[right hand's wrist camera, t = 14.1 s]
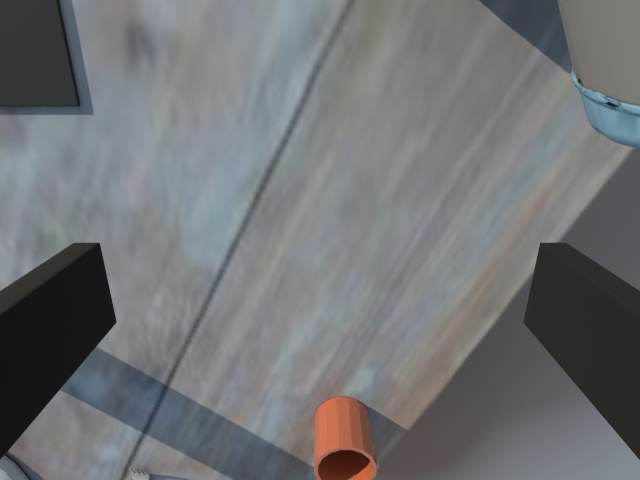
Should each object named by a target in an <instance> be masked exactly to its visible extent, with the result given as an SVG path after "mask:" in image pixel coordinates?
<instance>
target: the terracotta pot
mask: <svg viewBox="0 0 640 480" xmlns="http://www.w3.org/2000/svg"><path fill="white" fill-rule="evenodd" d="M376 473H377V462H376V456H375V449H374V442H373V435H372V429H371V422H370V417H369V413H368V410H367V409H366V407H365V406H364V405H363V404H362V403H361V402H359V401H358V400H356V399H353V398H349V397H336V398H332V399H329V400H327V401H326V402H324V403H323V404H322V405H320V407H319V408H318V409H317V411H316V414H315V436H314V475H315V477H316V479H317V480H373V479H374V478H375V476H376Z"/></svg>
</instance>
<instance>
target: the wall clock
mask: <svg viewBox="0 0 640 480" xmlns="http://www.w3.org/2000/svg"><path fill="white" fill-rule="evenodd" d="M0 480H29V479H28V478H27V477H26V475H25V474H24V473H23V472H22V471H21V469H20V468H19V467H18V466H17V465H16V464H15V463H14V462H13V461H11V460H10V459H9V458H8V457H6V456H5V455H4V456H3V457H2V458H1V459H0Z"/></svg>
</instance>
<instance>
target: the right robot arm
mask: <svg viewBox="0 0 640 480" xmlns="http://www.w3.org/2000/svg"><path fill="white" fill-rule="evenodd" d="M557 2H558V6H559V11H560V15H561V19H562V24H563V28H564V33H565V37H566V41H567V46H568V50H569V55H570V59H571V63H572V70H571V77H572V81H573V83H574V85H575V86H576V87H577V88H578V89H579V91H580V95H581V98H582V101H583V105H584V108H585V111H586V115H587V118H588V120H589V122H590V124H591V126H592V127H593V128H594V129H595V130H596V131H597V132H599V133H601V134H603V135H604V136H606V137H607V138H608V139H609V140H611V141H614V142H616V143H619V144H623V145H626V146H630V147H635V148H640V0H557ZM524 323H525V325H526V326H527V327H528V328H529V329H530V331H531V332H532V333H533V334H534V335H535V336H536V338H537V339H538V340H539V341H540V342H541V344H542V345H543V346H544V347H545V348H546V349H547V351H548V352H549V353H550V354H551V355H552V357H553V358H554V359H555V360H556V361H557V363H558V364H559V365H560V366H561V367H562V368H563V370H564V371H565V372H566V373H567V374H568V376H569V377H570V378H571V379H572V380H573V381H574V383H575V384H576V385H577V386H578V387H579V389H580V390H581V391H582V392H583V393H584V394H585V396H586V397H587V398H588V399H589V400H590V402H591V403H592V404H593V405H594V406H595V407H596V409H597V410H598V411H599V412H600V413H601V415H602V416H603V417H604V418H605V419H606V420H607V422H608V423H609V424H610V425H611V426H612V428H613V429H614V430H615V431H616V432H617V433H618V435H619V436H620V437H621V438H622V439H623V441H624V442H625V443H626V444H627V445H628V446H629V448H630V449H631V450H632V451H633V452H634V454H635V455H636V456H637V457H638V458H639V459H640V291H639V290H637V289H636V288H634V287H633V286H631V285H629V284H628V283H626V282H625V281H623V280H622V279H620V278H619V277H617V276H616V275H614V274H613V273H611V272H610V271H608V270H607V269H605V268H604V267H602V266H601V265H599V264H598V263H596V262H594V261H593V260H591V259H590V258H588V257H587V256H585V255H584V254H582V253H581V252H579V251H578V250H576V249H575V248H573V247H572V246H570V245H568V244H567V243H540V247H539V251H538V256H537V261H536V266H535V270H534V275H533V280H532V285H531V289H530V294H529V299H528V303H527V308H526V313H525V317H524ZM115 324H116V317H115V313H114V308H113V303H112V299H111V294H110V289H109V284H108V280H107V275H106V270H105V266H104V261H103V256H102V251H101V247H100V243H73V244H71V245H70V246H68V247H67V248H65V249H64V250H62V251H61V252H59V253H58V254H56V255H55V256H53V257H52V258H50V259H49V260H47V261H46V262H44V263H42V264H41V265H39V266H38V267H36V268H35V269H33V270H32V271H30V272H29V273H27V274H26V275H24V276H23V277H21V278H20V279H18V280H17V281H15V282H13V283H12V284H10V285H9V286H7V287H6V288H4V289H3V290H1V291H0V459H1V458H2V457H3V456H4V455H5V454H6V452H7V451H8V450H9V449H10V448H11V446H12V445H13V444H14V443H15V442H16V441H17V439H18V438H19V437H20V436H21V435H22V433H23V432H24V431H25V430H26V429H27V428H28V426H29V425H30V424H31V423H32V422H33V420H34V419H35V418H36V417H37V416H38V415H39V413H40V412H41V411H42V410H43V409H44V407H45V406H46V405H47V404H48V403H49V402H50V400H51V399H52V398H53V397H54V396H55V394H56V393H57V392H58V391H59V390H60V389H61V387H62V386H63V385H64V384H65V383H66V381H67V380H68V379H69V378H70V377H71V376H72V374H73V373H74V372H75V371H76V370H77V368H78V367H79V366H80V365H81V364H82V363H83V361H84V360H85V359H86V358H87V357H88V355H89V354H90V353H91V352H92V351H93V350H94V348H95V347H96V346H97V345H98V344H99V342H100V341H101V340H102V339H103V338H104V337H105V335H106V334H107V333H108V332H109V331H110V329H111V328H112V327H113V326H114V325H115Z"/></svg>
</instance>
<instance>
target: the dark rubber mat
mask: <svg viewBox="0 0 640 480" xmlns="http://www.w3.org/2000/svg"><path fill="white" fill-rule="evenodd" d="M0 106H80V103H79V98H78V93H77V88H76V83H75V79H74V74H73V69H72V64H71V59H70V54H69V49H68V44H67V39H66V34H65V30H64V25H63V20H62V15H61V10H60V5H59V0H0Z"/></svg>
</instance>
